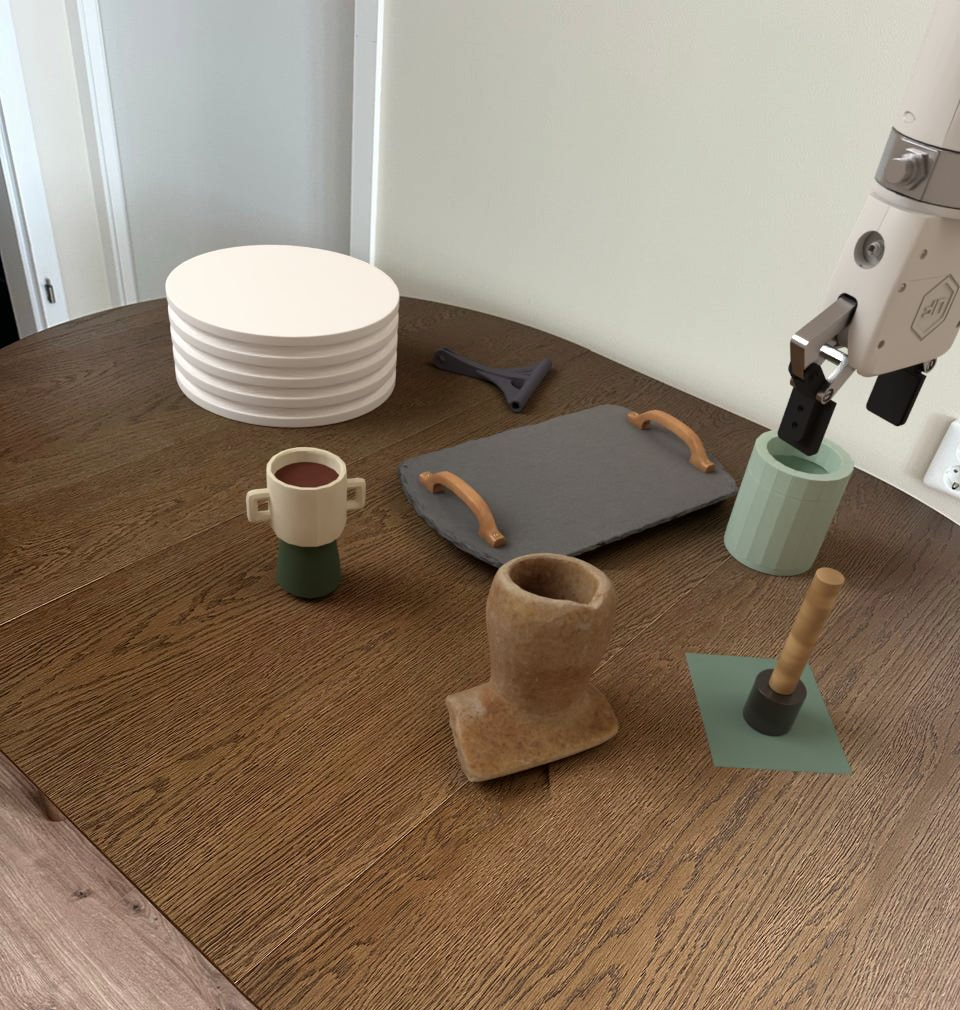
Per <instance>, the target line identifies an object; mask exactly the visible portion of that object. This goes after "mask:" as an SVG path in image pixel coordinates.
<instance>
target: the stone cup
mask: <svg viewBox="0 0 960 1010" xmlns="http://www.w3.org/2000/svg"><path fill="white" fill-rule="evenodd" d="M485 604H486V605H485V623H486V624H485V626H486V633H487V640H488V641H487V642H488V650H489V658H490V677H489V679H488V681H487V682H483V683H480V684H479V685H476V686H474V687H473V686H472V687H471V688H468V689H464V690H461V691H458V692H455V693H451V694H448V695H447V696H446V697H445V701H444V703H445V708H446V709H447V711H448V715H449V721H448V722H449V727H450V728H451V732H452V738H453V742H454V743H453V744H454V747H455V748H456V750H457V751H456V757H457V759H458V763H459V765H460V766H461V770H462V772H463V774H464V775H465V776H466V778H467V780H468V781H469V782H470V783H480V782H485V781H489V780H493V779H498V778H501V777H505V776H510V775H512V774H516V773H519V772H522V771H526V770H530V769H532V768H536V767H539V766H542V765H543V766H544V765H546V764H549V763H552V762H555V761H559V760H563V759H564V758H568V757H570V756H574V755H577V754H579V753H582V752H584V751H587V750H589V749H592V748H595V747H597V746H600V745H602V744H604V743H605V742H607V741H609V740H611V739H612V738H613V737H615V736H616V735H617V733H618V731H619V721H618V719H617V716H616V714H615V712H614V709H613V707H612V705H611V704H610V702H609V700H608V699H607V697H605V695H604V694H603V693H602V692H601V690H600V689H599V688H598V687H596V685H594V684H593V683H592V682H591V681H590V680H591V678H592V675H593V674H594V673H595V671H596V669H597V668H598V666H599V665H600V664H601V662H602V661H603V659H604V657H605V655H606V652H607V650H608V647H609V645H610V642H611V639H612V636H613V632H614V627H615V622H616V615H617V608H618V594H617V591H616V587H615V585H614V582H613V581H612V579H611V578H610V577H609V576H608V575H607V574H606V573H605V572H603V571H602V570H601V569H599V568H598V567H596V566H595V565H593V564H591V563H589V562H588V561H585V560H582V559H580V558H576V557H569V556H564V555H560V554H551V553H536V554H530V555H524V556H521V557H517V558H515V559H513V560H510V561H509V562H507V563H505V564H504V565H503V566H502V567H501V568H498V569H497V571H496V573H495V575H494V576H493V579H492V582H491V584H490V588H489V591H488V595H487V599H486V603H485Z"/></svg>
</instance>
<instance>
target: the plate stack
mask: <svg viewBox="0 0 960 1010" xmlns="http://www.w3.org/2000/svg"><path fill="white" fill-rule="evenodd" d="M164 288H165V295H166V301H167V310H168V311H167V312H168V319H169V324H170V327H169V329H170V336H171V338H170V339H171V342H172V354H173V355H172V356H173V361H174V371H175V379H176V382H177V385H178V387H179V389H180V390H181V392H182V393H183V394H184V395H185V397H186V398H188V399H189V400H190V401H191V402H193V403H194V404H195V405H197V406H198V407H200V408H202V409H203V410H206V411H208V412H210V413H213V414H214V415H218V416H220V417H222V418H226V419H229V420H232V421H236V422H238V423H239V422H240V423H244V424H249V425H254V426H255V425H256V426H262V427H270V428H272V427H273V428H290V429H291V428H293V429H294V428H295V429H296V428H312V427H321V426H329V425H333V424H338V423H339V424H340V423H343V422H347V421H349V420H354V419H357V418H359V417H361V416H364V415H366V414H368V413H370V412H372V411H374V410H376V409H377V408H378V407H380V406H381V405H383V404H384V403H385V402H386V401H387V400H388V399H389V398H390V397H391V396H392V393H393V391H394V389H395V386H396V379H397V368H396V367H397V358H398V357H397V355H398V351H397V348H398V334H399V333H398V328H399V309H400V290H399V288H398V286H397V284H396V283H395V281H394V280H393V279H392V278H391V277H390V276H389V275H388V274H387V273H385V272H384V271H383V270H381V269H380V268H378V267H377V266H375V265H373V264H370V263H368V262H366V261H364V260H362V259H359V258H356V257H353V256H351V255H347V254H343V253H340V252H336V251H332V250H327V249H322V248H316V247H309V246H300V245H288V244H287V245H286V244H254V245H253V244H251V245H241V246H233V247H227V248H220V249H217V250H212V251H209V252H205V253H202V254H199V255H195V256H194V257H192V258H189V259H187V260H185V261H183V262H182V263H180V264H179V265H178V266H177V265H176V267H175V268H173V270H171V272H170V273H169V275H168V276H167V278H166V281H165V287H164Z"/></svg>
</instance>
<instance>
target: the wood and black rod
mask: <svg viewBox="0 0 960 1010" xmlns="http://www.w3.org/2000/svg"><path fill="white" fill-rule="evenodd" d="M844 584H845V577H844V575H843V574H842V573H841V571H839V570H837V569H835V568H831V567H825V566H824V567H820V568H818V569H817V570H816V571H815V573H814V576H813V577H812V580H811V582H810V585H809V587H808V589H807V592H806V594H805V596H804V598H803V601H802V603H801V606H800V608H799V610H798V613H797V615H796V617H795V620H794V622H793V625H792V627H791V629H790V631H789V634H788V636H787V638H786V640H785V642H784V645H783V648H782V650H781V652H780V655H779V657H778V658H777V659H778V661H777V664H776V666H775V668H774V669H766V670H763V671H761V672H760V673H759V674H758V675H757V677H756V679H755V681H754V684H753V686H752V689H751V691H750V693H749V696H748V698H747V701H746V703H745V705H744V708H743V717H744V719H745V721H746V723H747V724H748V725H749V726H750V727H751V728H752V729H754V730H755V731H757V732H759V733H761V734H764V735H767V736H782V735H785V734H787V733H788V732H789V731H790V730H791V728H792V726H793V724H794V722H795V720H796V718H797V716H798V713H799V711H800V709H801V707H802V705H803V703H804V701H805V699H806V696H807V690H806V687H805V685H804V683H803V682H802V681H801V680H800V677H801V675H802V673H803V671H804V668H805V666H806V664H807V662H808V663H809V659H810V657H811V655H812V653H813V651H814V649H815V647H816V645H817V642H818V641H819V638H820V636H821V633H822V631H823V629H824V627H825V626H826V623H827V620H828V618H829V616H830V614H831V612H832V609H833V607H834V606H835V603H836V601H837V600H838V599H837V598H838V596H839V594H840V592H841V590H842V588H843V586H844Z"/></svg>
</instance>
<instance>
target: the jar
mask: <svg viewBox="0 0 960 1010" xmlns="http://www.w3.org/2000/svg"><path fill="white" fill-rule="evenodd" d="M854 469H855V461H854V460H853V459H852V457H851V455H850V454H849V453H848V452H847V451H846V450H845V449H844V448H843V447H842V446H841V445H839V444H837V443H835V442H834V441H832V440H830V439H828V438H826V437H824V438H823V440H822V443H821V446H820V448H819V451H818V453H817V454H815V455H812V456H807V455H805V454H804V453H802V452H800V451H799V450H797V449H796V448H794V447H792V446H791V445H789V444H788V443H786V442H784V441H783V440H781V439H780V438H779V437H778V429H771V430H768V431H765V432H762V433H761V434H760V435H759V436H758V437H756V439H755V442H754V444H753V448H752V450H751V454H750V457H749V460H748V463H747V466H746V469H745V472H744V474H743V477H742V481H741V484H740V486H739V488H738V489H739V492H738V494H737V495H736V498H735V501H734V504H733V507H732V510H731V513H730V516H729V519H728V522H727V525H726V528H725V532H724V534H723V543H724V546H725V549H726V550H727V552H728V553H729V554H730V555H731V556H732V557H733V558H734V559H735V560H736V561H737V562H739V563H740V564H742V565H743V566H745V567H748V568H749V569H751V570H754V571H755V572H756V571H757V572H758V573H759V572H760V573H762V574H765V575H771V576H777V577H792V576H793V577H794V576H798V575H801V574H804V573H807V572H808V571H809V570H810V569H811V568H812V566H813V565H814V562H815V560H816V559H817V557H818V554H819V552H820V550H821V548H822V545H823V544H824V541H825V538H826V536H827V534H828V531H829V529H830V526H831V524H832V522H833V519H834V518H835V515H836V512H837V510H838V508H839V505H840V504H841V500H842V497H843V495H844V494H845V492H846V489H847V486H848V484H849V481H850V479H851V477H852V475H853V472H854Z"/></svg>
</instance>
